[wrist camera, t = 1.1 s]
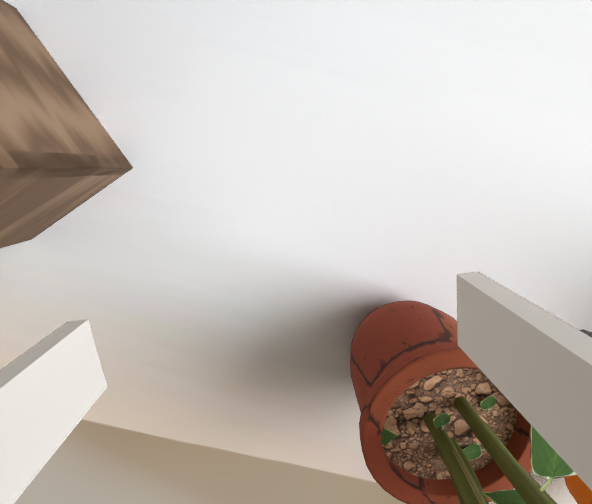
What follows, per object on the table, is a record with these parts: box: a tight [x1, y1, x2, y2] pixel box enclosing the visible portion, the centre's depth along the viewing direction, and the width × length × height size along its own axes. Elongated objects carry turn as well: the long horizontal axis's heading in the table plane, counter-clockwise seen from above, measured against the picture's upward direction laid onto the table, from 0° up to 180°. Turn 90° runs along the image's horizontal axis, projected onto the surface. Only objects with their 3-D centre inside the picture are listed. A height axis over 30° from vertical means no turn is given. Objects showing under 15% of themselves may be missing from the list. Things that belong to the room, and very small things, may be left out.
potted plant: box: [350, 301, 577, 504], centre depth 22 cm, size 17×16×35 cm
